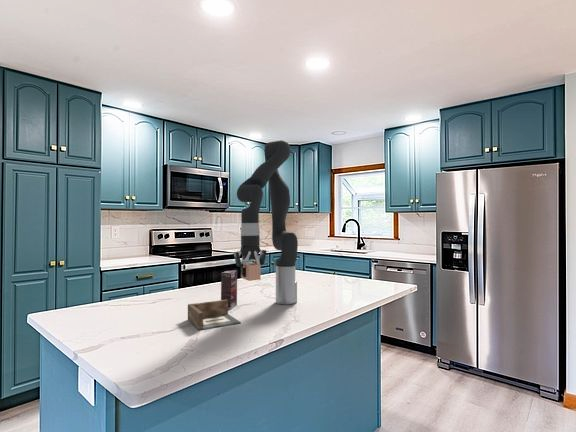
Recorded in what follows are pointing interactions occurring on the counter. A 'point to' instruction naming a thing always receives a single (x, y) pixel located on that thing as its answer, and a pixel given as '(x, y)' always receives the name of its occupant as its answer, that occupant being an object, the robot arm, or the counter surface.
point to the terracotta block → (252, 271)
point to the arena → (210, 315)
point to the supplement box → (229, 287)
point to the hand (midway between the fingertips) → (250, 276)
